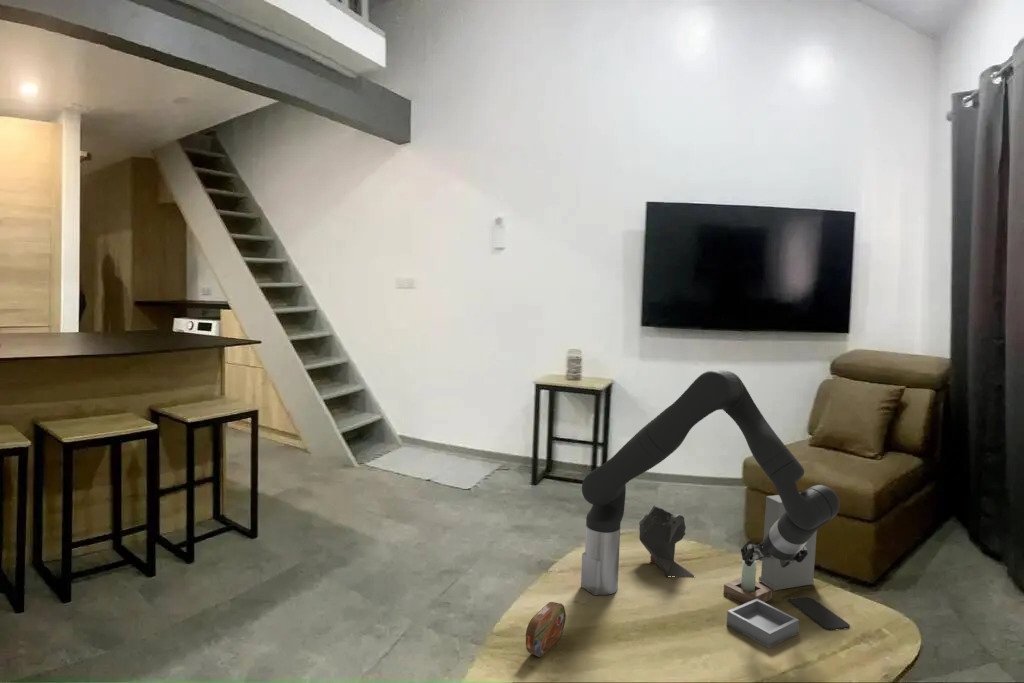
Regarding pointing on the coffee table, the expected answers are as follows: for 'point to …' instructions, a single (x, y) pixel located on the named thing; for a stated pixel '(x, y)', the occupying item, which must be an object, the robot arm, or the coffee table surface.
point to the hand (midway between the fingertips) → (764, 562)
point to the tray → (763, 622)
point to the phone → (818, 613)
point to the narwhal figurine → (663, 539)
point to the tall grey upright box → (772, 568)
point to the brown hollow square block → (743, 596)
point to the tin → (545, 628)
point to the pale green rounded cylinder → (748, 577)
